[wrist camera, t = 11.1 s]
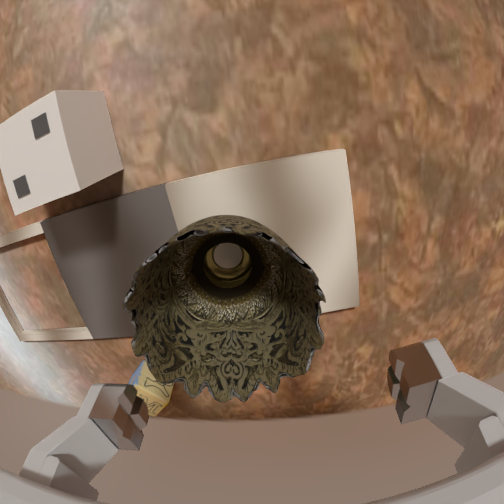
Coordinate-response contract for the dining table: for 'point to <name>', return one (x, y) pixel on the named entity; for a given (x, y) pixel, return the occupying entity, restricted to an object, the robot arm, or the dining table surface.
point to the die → (57, 147)
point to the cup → (225, 310)
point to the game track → (187, 212)
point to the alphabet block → (151, 389)
